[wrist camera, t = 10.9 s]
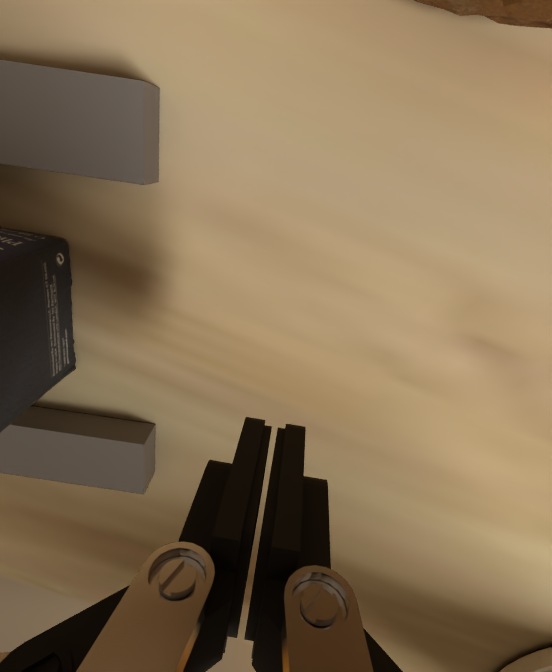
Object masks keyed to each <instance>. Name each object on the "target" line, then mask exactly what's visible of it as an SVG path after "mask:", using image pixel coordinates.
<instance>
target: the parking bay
mask: <svg viewBox="0 0 552 672" xmlns="http://www.w3.org/2000/svg"><path fill="white" fill-rule="evenodd" d="M159 93H160V88H159V87H156V86H154V85H152V84H150V83H147V82H145V81H142V80H135V79H128V78H121V77H115V76H108V75H101V74H94V73H88V72H81V71H74V70H67V69H61V68H54V67H47V66H40V65H34V64H27V63H20V62H13V61H7V60H0V164H6V165H12V166H19V167H26V168H33V169H39V170H46V171H53V172H60V173H66V174H73V175H80V176H86V177H93V178H100V179H107V180H113V181H120V182H127V183H134V184H140V185H146V184H151V183H156V182H158V172H159ZM154 472H155V424H149V423H143V422H136V421H129V420H123V419H116V418H109V417H102V416H96V415H89V414H82V413H76V412H69V411H62V410H56V409H49V408H42V407H36V406H30V407H29V408H28V409H27V410H26V411H25V412H23V413H22V414H21V415H20V416H19V417H18V418H16V419H15V420H14V421H13V422H12V423H11V424H10V425H9V426H8V427H7V428H5V429H4V430H3V431H2V432H1V433H0V473H4V474H11V475H18V476H24V477H31V478H38V479H44V480H51V481H58V482H64V483H71V484H78V485H84V486H91V487H98V488H104V489H111V490H118V491H124V492H131V493H138V494H145V492H146V489H147V487H148V485H149V483H150V481H151V479H152V477H153V474H154Z"/></svg>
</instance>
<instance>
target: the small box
mask: <svg viewBox="0 0 552 672" xmlns="http://www.w3.org/2000/svg"><path fill="white" fill-rule="evenodd" d="M71 285H72V279H71V270H70V260H69V253H68V244H67V241H66V240H64V239H61V238H57V237H52V236H46V235H41V234H35V233H30V232H24V231H18V230H12V229H7V228H1V227H0V433H1V432H2V431H3V430H4V429H5V428H7V427H8V426H9V425H10V424H11V423H12V422H13V421H14V420H15V419H16V418H18V417H19V416H20V415H21V414H22V413H23V412H25V411H26V410H27V409H28V408H29V407H30V406H31V405H32V404H33V403H34V402H36V401H37V400H38V399H39V398H40V397H42V396H43V395H44V394H45V393H46V392H47V391H48V390H50V389H51V388H52V387H53V386H55V385H56V384H57V383H58V382H59V381H61V380H62V379H63V378H64V377H66V376H67V375H68V374H70V373H71V372H72V371H74V370H75V369H76V366H75V362H76V358H75V352H74V347H73V344H74V340H73V327H72V301H71Z"/></svg>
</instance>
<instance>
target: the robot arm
mask: <svg viewBox="0 0 552 672" xmlns="http://www.w3.org/2000/svg"><path fill="white" fill-rule="evenodd" d="M271 428H272V427H271V426H265V420H261V419H255V418H249V417H246V419H245V422H244V425H243V429H242V432H241V436H240V439H239V443H238V446H237V450H236V453H235V457H234V460H233V464H230V463H225V462H219V461H213V460H209V461H208V464H207V466H206V469H205V471H204V474H203V477H202V479H201V482H200V485H199V487H198V490H197V493H196V495H195V498H194V501H193V503H192V506H191V509H190V511H189V514H188V517H187V519H186V522H185V525H184V527H183V530H182V533H181V536H180V538H179V541H178V542H173V543H170V544H167V545H164V546H161V547H160V548H159V549H157V550H156V551H154V552H153V553H152V554H151V555H150V556H149V557H148V558H147V560H146V561H145V562H144V564H143V565H142V567H141V569H140V570H139V572H138V573H137V575H136V577H135V578H134V580H133V581H132V583H131V585H129V586H127V587H126V588H124V589H122V590H120V591H118V592H116V593H115V594H113V595H111V596H109V597H107V598H105V599H104V600H102V601H100V602H98V603H96V604H94V605H92V606H91V607H89V608H87V609H85V610H83V611H82V612H80V613H78V614H76V615H74V616H72V617H70V618H69V619H67V620H65V621H63V622H62V623H59V624H58V625H56V626H54V627H52V628H50V629H49V630H47V631H45V632H43V633H41V634H39V635H37V636H36V637H34V638H32V639H30V640H28V641H26V642H25V643H23V644H22V645H20V646H19V647H17V648H16V649H14V650H13V651H12V652H3V653H0V672H206V671H207V670H208V669H210V668H211V667H212V666H213V665H215V664H216V663H217V662H219V661H220V660H221V659H222V655H223V653H224V652H225V647H226V642H227V637H228V636H229V637H235V638H237V634H238V628H239V622H240V616H241V611H242V605H243V599H244V593H245V587H246V581H247V575H248V570H249V564H250V558H251V552H252V546H253V540H254V535H255V529H256V523H257V517H258V511H259V505H260V499H261V493H262V486H263V480H264V473H265V467H266V460H267V454H268V448H269V441H270V435H271ZM304 451H305V427H303V426H297V425H291V424H286V427H285V429H283V428H278V430H277V436H276V442H275V448H274V455H273V461H272V467H271V473H270V479H269V485H268V491H267V497H266V504H265V510H264V516H263V523H262V529H261V536H260V542H259V549H258V555H257V562H256V568H255V575H254V581H253V588H252V594H251V601H250V607H249V614H248V620H247V627H246V633H245V640H251V641H254V643H253V651H252V658H253V660H252V666H253V667H254V669H255V671H256V672H403V671H402V670H401V669H400V668H399V667H398V666H397V665H396V664H395V663H394V661H393V660H392V659H391V658H390V657H389V656H388V655H387V654H386V653H385V651H384V650H383V649H382V648H381V647H380V646H379V645H378V644H377V643H376V641H375V640H374V639H373V638H372V637H371V636H370V635H369V634H368V633H367V631H366V630H365V629H364V628H363V625H362V621H361V617H360V613H359V609H358V604H357V600H356V598H355V595H354V593H353V590H352V588H351V587H350V586H349V584H348V583H347V581H346V580H345V579H344V578H343V577H341V576H340V575H339V574H338V573H337V572H335V571H333V570H331V563H330V534H329V505H328V483H327V480H323V479H317V478H312V477H306V476H303V474H304ZM499 672H552V647H549V648H546V649H542V650H539V651H536V652H534V653H531V654H529V655H526V656H523V657H521V658H519V659H518V660H516V661H514V662H512V663H510V664H509V665H507V666H506V667H504V668H503V669H502V670H501V671H499Z"/></svg>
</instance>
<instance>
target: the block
mask: <svg viewBox="0 0 552 672" xmlns="http://www.w3.org/2000/svg"><path fill="white" fill-rule="evenodd" d="M416 1H417V2H421V3H424V4H427V5H431V6H435V7H438V8H442V9H445V10H448V11H450V12H453V13H455V14H458V15H460V16H462V15H477V14H479V15H483V16H486V17H487V18H489V19H491V20H493V21H495V22H497V23H501V24H507V25H514V26H526V27H540V28H552V0H416Z"/></svg>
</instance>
